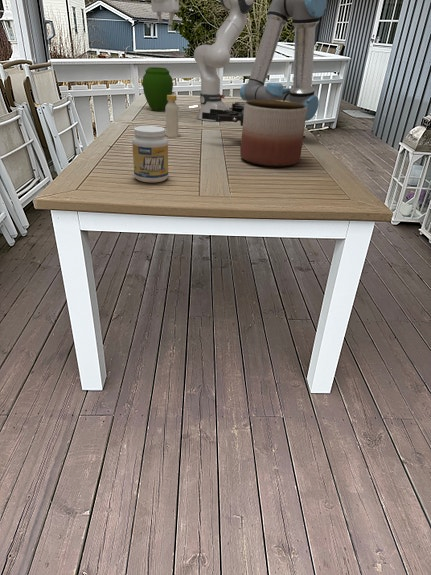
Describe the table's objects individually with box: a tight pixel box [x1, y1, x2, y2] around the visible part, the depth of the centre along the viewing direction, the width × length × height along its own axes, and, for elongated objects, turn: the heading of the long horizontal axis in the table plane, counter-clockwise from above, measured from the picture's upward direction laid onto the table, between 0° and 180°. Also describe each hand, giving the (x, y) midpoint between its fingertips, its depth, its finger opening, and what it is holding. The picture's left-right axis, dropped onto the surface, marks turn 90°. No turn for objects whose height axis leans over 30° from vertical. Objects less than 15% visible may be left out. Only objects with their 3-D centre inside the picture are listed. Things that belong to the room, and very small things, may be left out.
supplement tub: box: [131, 125, 169, 183], centre depth 142 cm, size 12×12×17 cm
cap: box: [167, 94, 177, 102], centre depth 197 cm, size 4×4×2 cm
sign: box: [231, 101, 246, 112], centre depth 284 cm, size 19×3×30 cm
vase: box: [141, 66, 174, 112], centre depth 261 cm, size 20×20×24 cm
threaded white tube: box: [164, 101, 179, 138], centre depth 202 cm, size 6×6×18 cm
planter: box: [240, 100, 307, 168], centre depth 169 cm, size 25×25×22 cm
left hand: (165, 23), depth 208 cm, fingers open, 8 cm apart
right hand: (206, 113), depth 194 cm, fingers open, 13 cm apart
